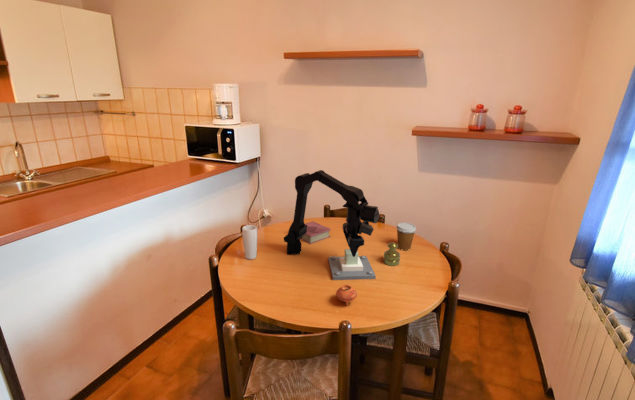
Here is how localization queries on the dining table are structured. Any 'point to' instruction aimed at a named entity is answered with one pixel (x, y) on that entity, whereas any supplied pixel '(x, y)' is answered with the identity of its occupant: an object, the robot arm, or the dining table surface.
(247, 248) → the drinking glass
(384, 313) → the dining table surface
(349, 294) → the pot
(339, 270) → the tower base
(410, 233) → the disposable coffee cup
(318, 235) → the book
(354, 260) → the sage brick
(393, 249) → the green tiered ornament
